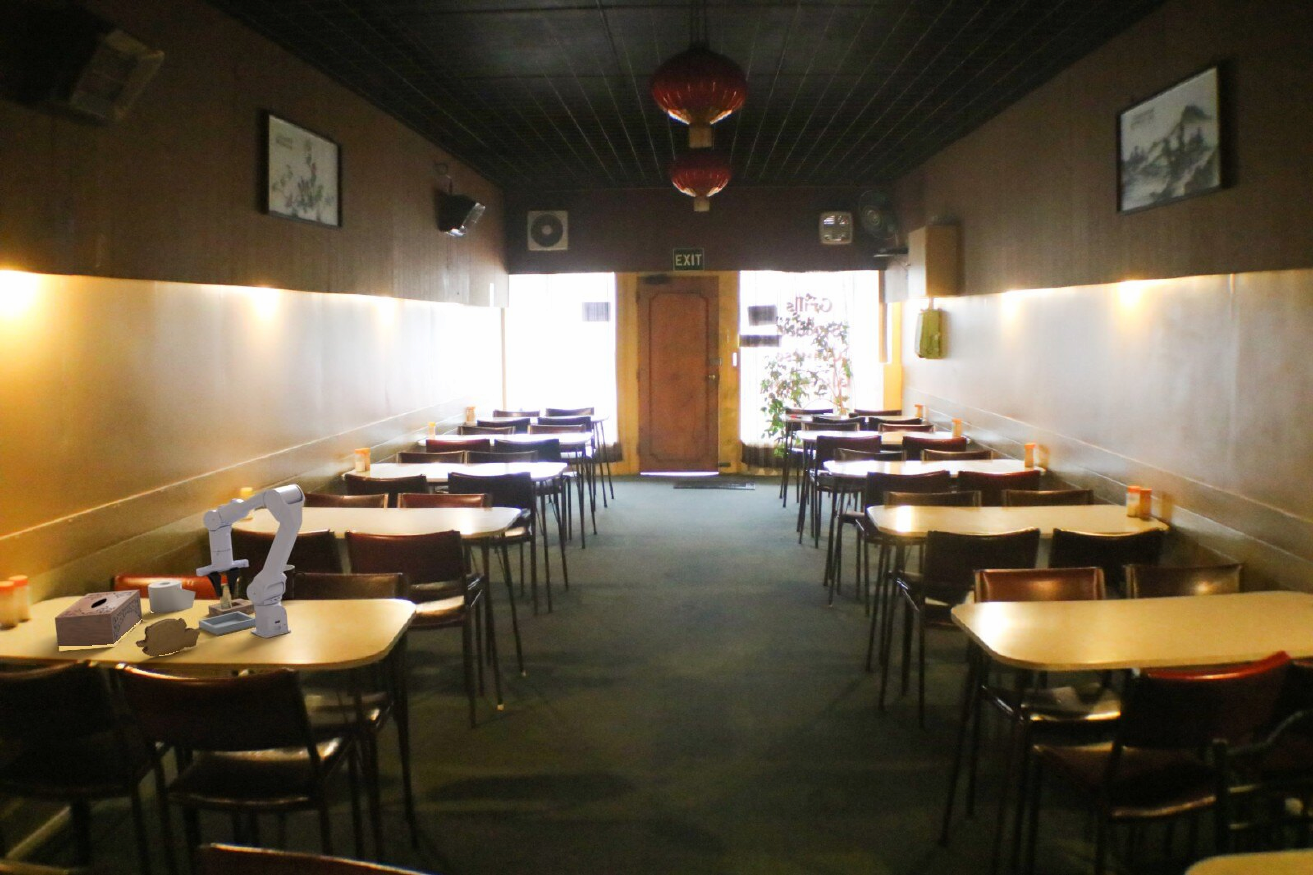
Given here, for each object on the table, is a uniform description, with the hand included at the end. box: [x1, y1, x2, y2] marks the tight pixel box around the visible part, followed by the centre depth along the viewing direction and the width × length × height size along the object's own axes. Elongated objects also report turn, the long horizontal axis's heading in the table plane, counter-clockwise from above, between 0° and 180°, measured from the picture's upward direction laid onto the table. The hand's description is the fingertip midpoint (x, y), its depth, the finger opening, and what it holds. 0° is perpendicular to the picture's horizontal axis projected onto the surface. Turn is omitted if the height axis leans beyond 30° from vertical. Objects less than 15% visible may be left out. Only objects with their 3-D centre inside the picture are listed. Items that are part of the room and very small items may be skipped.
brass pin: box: [219, 582, 232, 610], centre depth 308 cm, size 3×3×7 cm
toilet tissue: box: [147, 579, 196, 614], centre depth 331 cm, size 9×13×9 cm
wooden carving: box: [135, 617, 201, 657], centre depth 286 cm, size 16×5×10 cm, turn 139°
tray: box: [198, 611, 256, 637], centre depth 309 cm, size 12×12×2 cm
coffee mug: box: [281, 564, 307, 601], centre depth 338 cm, size 12×9×10 cm
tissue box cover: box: [54, 589, 143, 647], centre depth 306 cm, size 26×14×10 cm, turn 10°
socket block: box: [207, 598, 255, 617], centre depth 323 cm, size 10×10×3 cm
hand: (225, 595), depth 308 cm, fingers closed on brass pin, 3 cm apart
